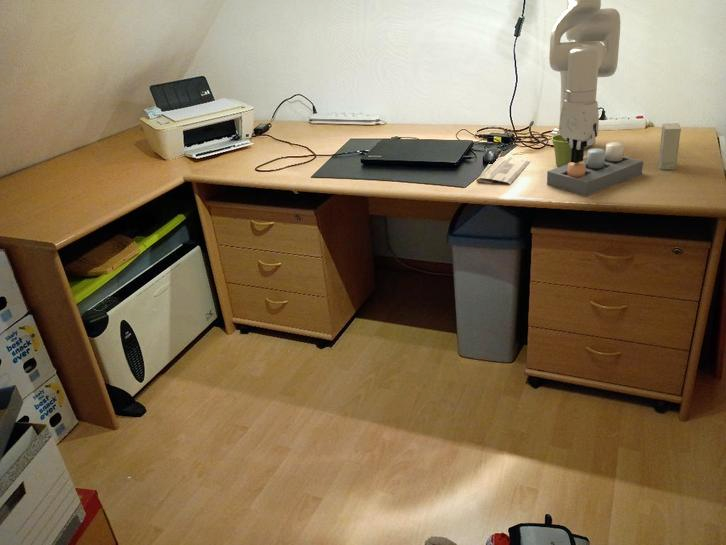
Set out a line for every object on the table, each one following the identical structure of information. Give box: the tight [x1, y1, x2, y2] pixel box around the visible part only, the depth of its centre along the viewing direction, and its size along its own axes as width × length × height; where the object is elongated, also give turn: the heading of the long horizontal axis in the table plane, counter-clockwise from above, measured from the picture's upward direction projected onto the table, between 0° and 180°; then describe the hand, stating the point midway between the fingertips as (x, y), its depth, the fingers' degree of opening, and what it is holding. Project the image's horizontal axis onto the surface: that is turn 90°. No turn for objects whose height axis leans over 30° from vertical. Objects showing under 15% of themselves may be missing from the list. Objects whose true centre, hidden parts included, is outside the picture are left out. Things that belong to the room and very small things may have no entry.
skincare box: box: [658, 122, 682, 170], centre depth 178 cm, size 6×4×12 cm
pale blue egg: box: [586, 148, 606, 168], centre depth 175 cm, size 5×5×4 cm
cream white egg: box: [605, 141, 625, 161], centre depth 178 cm, size 5×5×4 cm
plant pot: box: [551, 134, 572, 167], centre depth 190 cm, size 9×9×9 cm
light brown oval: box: [567, 162, 586, 178], centre depth 172 cm, size 5×5×4 cm
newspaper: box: [476, 156, 531, 186], centre depth 191 cm, size 23×12×2 cm, turn 151°
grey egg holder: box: [546, 152, 644, 197], centre depth 177 cm, size 14×24×4 cm, turn 122°
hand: (576, 161), depth 171 cm, fingers closed
